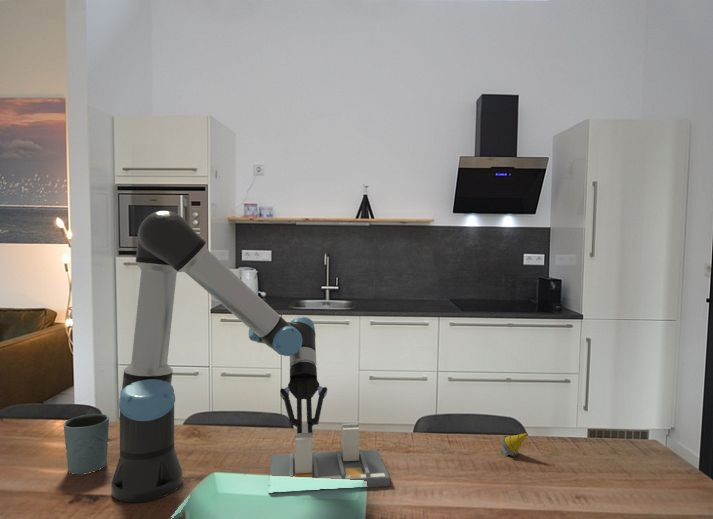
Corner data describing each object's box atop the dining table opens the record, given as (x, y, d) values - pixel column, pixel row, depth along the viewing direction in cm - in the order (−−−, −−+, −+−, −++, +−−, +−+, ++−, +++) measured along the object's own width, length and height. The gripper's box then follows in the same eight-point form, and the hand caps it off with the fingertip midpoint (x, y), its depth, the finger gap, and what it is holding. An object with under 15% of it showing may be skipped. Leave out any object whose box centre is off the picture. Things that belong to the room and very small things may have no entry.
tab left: (294, 473, 113) (294, 437, 113) (294, 466, 117) (294, 431, 117) (312, 472, 114) (312, 436, 113) (311, 465, 118) (311, 430, 117)
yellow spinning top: (505, 449, 135) (532, 430, 131) (509, 465, 130) (537, 446, 126) (491, 439, 133) (519, 420, 129) (495, 455, 129) (523, 435, 125)
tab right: (343, 461, 120) (343, 427, 120) (341, 454, 124) (341, 421, 124) (359, 460, 120) (359, 426, 120) (357, 453, 124) (357, 420, 124)
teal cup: (89, 478, 115) (89, 429, 115) (53, 474, 117) (53, 425, 117) (118, 460, 125) (118, 414, 125) (84, 456, 127) (84, 411, 127)
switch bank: (268, 493, 108) (268, 479, 108) (271, 462, 124) (271, 450, 124) (389, 486, 112) (389, 472, 112) (377, 456, 128) (377, 444, 128)
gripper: (325, 373, 138) (330, 455, 122) (279, 374, 136) (278, 458, 120) (327, 359, 133) (332, 443, 117) (279, 360, 131) (278, 446, 115)
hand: (305, 451), depth 119 cm, fingers closed
